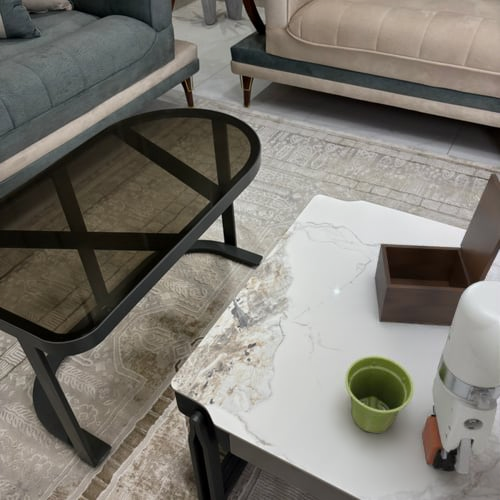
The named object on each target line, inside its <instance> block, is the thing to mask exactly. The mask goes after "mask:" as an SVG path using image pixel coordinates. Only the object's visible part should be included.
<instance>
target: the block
mask: <svg viewBox="0 0 500 500" xmlns="http://www.w3.org/2000/svg"><path fill="white" fill-rule="evenodd" d="M421 436H422V443H423V448H424V454H425V461H426V464H428V465H429V464H430V465H433V462H434V459H435V457H436V454H437V452H438V450H440V449H442V442H441V438H440V433H439V428H438V423H437V418H436V417H431V416H427V418H426V421H425V423H424V427H423V429H422V431H421ZM455 449H457V448H455Z"/></svg>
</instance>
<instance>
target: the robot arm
mask: <svg viewBox="0 0 500 500" xmlns="http://www.w3.org/2000/svg"><path fill="white" fill-rule="evenodd" d="M431 391H432V393H431V394H432V400H433V404H432V413H431V415H430V417H436V418H437V423H438V428H439V433H440V438H441V442H442V449H440V450H438V452H437V454H436V457H435V459H434V462H433V464H432V468H434V469H438V470H439V469H441V471H444V472H453V471H456V473H457V474H461V475H462V474H463V475H469V474H470V466H471V465H470V464H471V453H472V455H473V456H481V455H482V454H483V452H484V450H485V448H486V445H487V443H488V441H489V438H490V436H491V433H492V430H493V428H494V427H493V426H494V424H495V419H496V415H497V410H498V409H497V408H498V402H497V400H498V399H499V398H500V280H492V279H491V280H490V279H489V280H484V281H480V282H477V283H474V284H472V285H471V286H469V287H468V288H467V289H466V290H465V291H464V292H463V294H462V295H461V298H460V300H459V303H458V306H457V309H456V312H455V315H454V318H453V321H452V325H451V326H450V328H449V331H448V334H447V336H446V341H445V344H444V347H443V350H442V353H441V356H440V358H439V363H438V365H437V368H436V374H435V377H434V380H433V383H432V388H431ZM455 448H457V449H455Z"/></svg>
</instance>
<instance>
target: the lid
mask: <svg viewBox="0 0 500 500" xmlns="http://www.w3.org/2000/svg"><path fill="white" fill-rule="evenodd" d="M459 246H460V247H461V250H462V253H463V256H464V259H465V262H466V265H467V268H468V271H469V274H470V277H471V281H472V284H474V283H477V282H480V281H485V279H486V278H487V275H488V274H489V272H490V270H491V268H492V266H493V264H494V262H495V260H496V258H497V256H498V254H499V253H500V178H499V177H498V175H497V173H491V174H490V176H489V178H488V179H487V183H486V185H485V188H484V190H483V192H482V194H481V196H480V199H479V201H478V203H477V205H476V207H475V210H474V213H473V215H472V217H471V219H470V221H469V224H468V226H467V228H466V231H465V232H464V235H463V237H462V240H461V242H460V244H459Z"/></svg>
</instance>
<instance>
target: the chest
mask: <svg viewBox="0 0 500 500" xmlns="http://www.w3.org/2000/svg"><path fill="white" fill-rule="evenodd" d="M374 283H375V284H374V285H375V293H376V300H377V301H376V302H377V310H378V318H379V322H380V323H381V322H383V323H397V324H398V323H399V324H413V325H430V326H431V325H432V326H444V327H451V325H452V321H453V318H454V315H455V312H456V309H457V306H458V303H459V300H460V298H461V295H462V294H463V292H464V291H465V290H466V289H467V288H468V287H469V286H471V285H472V281H471V277H470V274H469V271H468V268H467V265H466V262H465V259H464V256H463V253H462V250H461V246H460V247H458V246H440V245H436V246H435V245H418V244H417V245H416V244H415V245H414V244H397V243H396V244H395V243H394V244H393V243H380V246H379V252H378V258H377V263H376V268H375V274H374Z"/></svg>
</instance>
